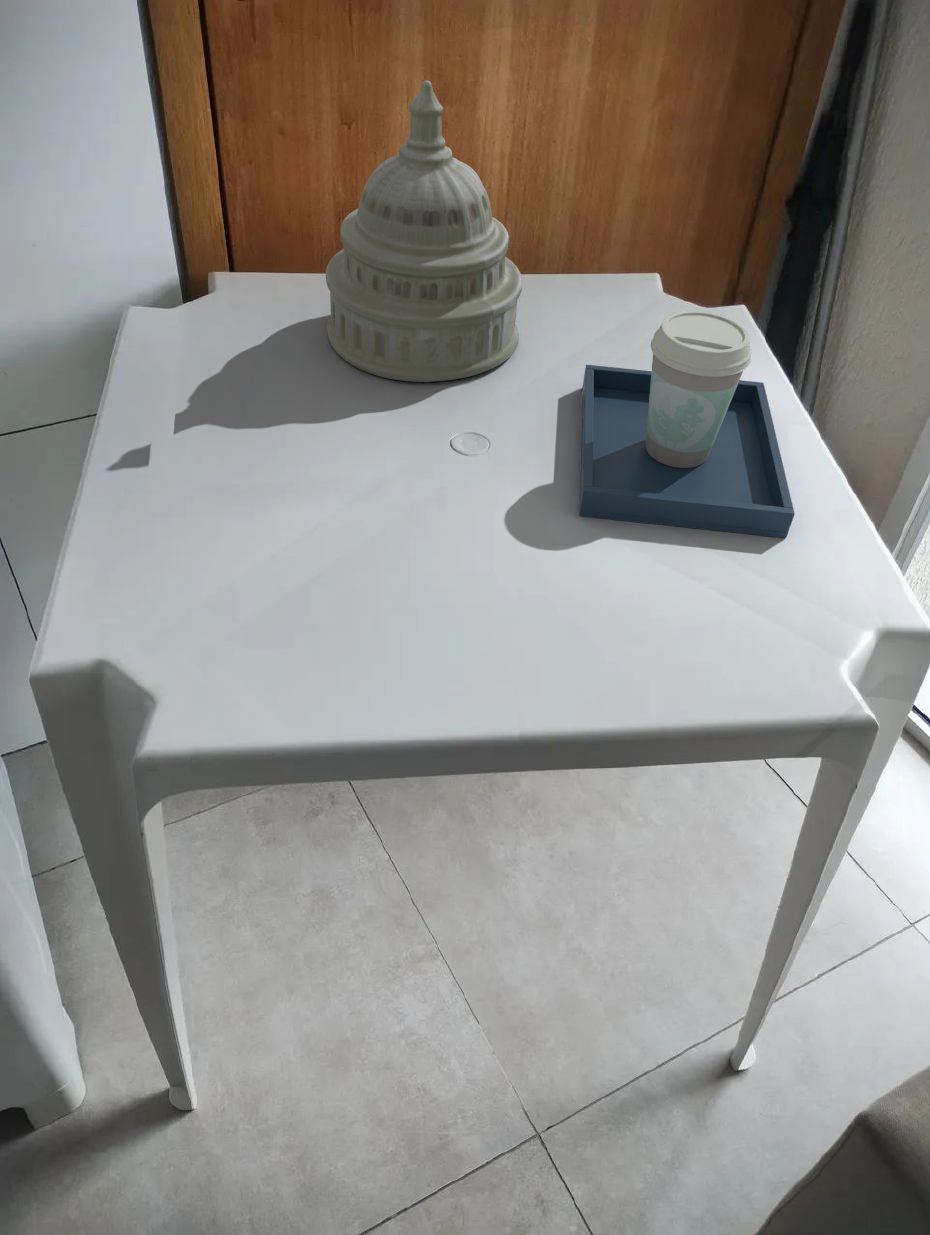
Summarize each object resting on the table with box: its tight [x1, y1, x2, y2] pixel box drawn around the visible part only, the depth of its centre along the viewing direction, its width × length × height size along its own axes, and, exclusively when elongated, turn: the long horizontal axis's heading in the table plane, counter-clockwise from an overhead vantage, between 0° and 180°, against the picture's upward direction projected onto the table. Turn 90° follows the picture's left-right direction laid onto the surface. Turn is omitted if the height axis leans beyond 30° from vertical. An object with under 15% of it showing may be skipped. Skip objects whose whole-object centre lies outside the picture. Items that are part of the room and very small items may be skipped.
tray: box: [578, 364, 795, 539], centre depth 92 cm, size 22×18×3 cm
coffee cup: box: [646, 310, 752, 468], centre depth 88 cm, size 9×8×12 cm
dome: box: [325, 80, 523, 383], centre depth 98 cm, size 20×25×20 cm
